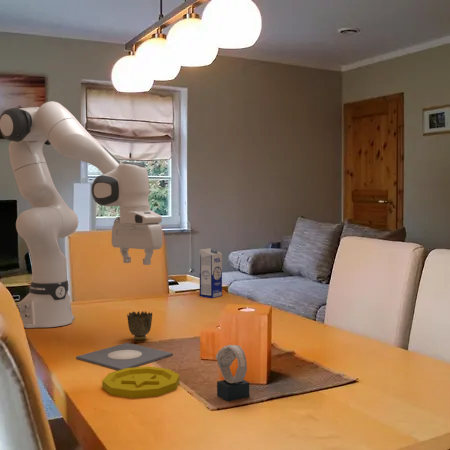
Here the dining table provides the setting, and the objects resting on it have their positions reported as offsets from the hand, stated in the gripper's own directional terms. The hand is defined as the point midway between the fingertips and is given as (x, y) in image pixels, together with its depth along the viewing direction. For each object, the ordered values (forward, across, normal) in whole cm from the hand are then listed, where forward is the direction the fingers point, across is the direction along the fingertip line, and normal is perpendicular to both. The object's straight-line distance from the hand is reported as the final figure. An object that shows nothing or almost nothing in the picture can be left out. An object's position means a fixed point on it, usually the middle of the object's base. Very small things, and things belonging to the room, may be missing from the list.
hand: (136, 263), depth 175 cm
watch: (+24, +52, -16) cm, 60 cm away
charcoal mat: (+23, +11, -14) cm, 29 cm away
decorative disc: (+24, +32, -25) cm, 47 cm away
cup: (+23, 0, 0) cm, 23 cm away
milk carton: (+23, -37, +66) cm, 79 cm away
